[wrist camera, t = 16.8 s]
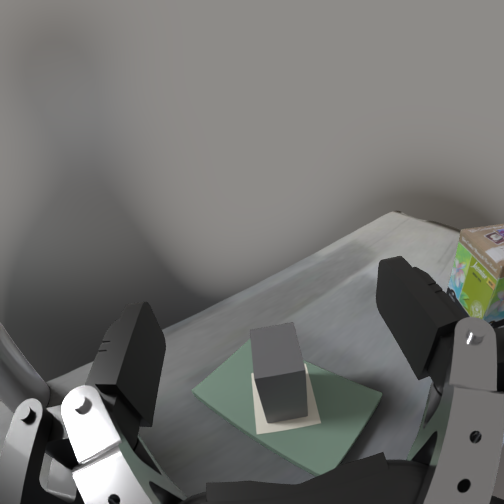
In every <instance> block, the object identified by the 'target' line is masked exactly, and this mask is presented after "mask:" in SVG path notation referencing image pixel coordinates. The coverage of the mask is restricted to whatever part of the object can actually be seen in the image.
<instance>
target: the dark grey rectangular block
mask: <svg viewBox="0 0 504 504" xmlns="http://www.w3.org/2000/svg"><path fill="white" fill-rule="evenodd" d="M250 340H251V351H252V362H253V373H254V380H255V384H256V387H257V391H258V394H259V397H260V401H261V404H262V408H263V411H264V414H265V417H266V421H267V423H274V422H280V421H286V420H291V419H297V418H302V417H307V416H308V406H307V386H306V369H305V366H304V362H303V358H302V354H301V350H300V346H299V342H298V339H297V335H296V331H295V327H294V323H293V322H291V323H285V324H280V325H275V326H269V327H263V328H257V329H252V330H250Z"/></svg>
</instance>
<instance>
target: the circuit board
mask: <svg viewBox="0 0 504 504" xmlns="http://www.w3.org/2000/svg"><path fill="white" fill-rule="evenodd" d="M303 362H304V366H305V369H306V386H307V406H308V416H307V417H302V418H297V419H291V420H286V421H280V422H274V423H267V421H266V417H265V414H264V411H263V408H262V404H261V401H260V397H259V394H258V391H257V387H256V384H255V380H254V373H253V362H252V351H251V340H250V339H249V340H248V341H247V342H246V343H245V344H244V345H243V346H242V347H241V348H239V349H238V350H237V351H236V352H235V353H234V354H233V355H232V356H231V357H229V358H228V359H227V360H226V361H225V362H224V363H223V364H222V365H220V366H219V367H218V368H217V369H216V370H215V371H214V372H212V373H211V374H210V375H209V376H208V377H207V378H205V379H204V380H203V381H202V382H201V383H200V384H198V385H197V386H196V387H195V388H194V389H193V390H191V391H192V392H193V394H194V396H195V397H196V398H197V399H199V400H200V401H201V402H202V403H204V404H205V405H206V406H208V407H209V408H210V409H211V410H213V411H214V412H215V413H217V414H218V415H219V416H221V417H222V418H223V419H225V420H226V421H228V422H229V423H230V424H232V425H233V426H235V427H236V428H237V429H239V430H240V431H242V432H243V433H245V434H246V435H248V436H249V437H251V438H252V439H254V440H255V441H257V442H258V443H260V444H261V445H263V446H264V447H266V448H268V449H269V450H271V451H272V452H274V453H276V454H277V455H279V456H281V457H282V458H284V459H286V460H287V461H289V462H291V463H293V464H294V465H296V466H298V467H300V468H301V469H303V470H305V471H307V472H309V473H311V474H313V475H314V476H316V477H317V476H319V475H322V474H324V473H326V472H328V471H330V470H332V469H334V468H336V467H338V466H339V464H340V463H341V462H342V460H343V459H344V457H345V456H346V454H347V453H348V452H349V450H350V449H351V447H352V446H353V444H354V443H355V441H356V440H357V438H358V437H359V435H360V434H361V432H362V430H363V429H364V427H365V426H366V424H367V422H368V421H369V419H370V417H371V416H372V414H373V412H374V411H375V409H376V407H377V405H378V404H379V402H380V400H381V397H382V394H383V393H381V392H378V391H376V390H373V389H370V388H368V387H365V386H363V385H360V384H358V383H355V382H353V381H350V380H348V379H346V378H343V377H341V376H338V375H336V374H334V373H331V372H329V371H327V370H324V369H322V368H320V367H317V366H315V365H313V364H311V363H308V362H306V361H304V360H303Z"/></svg>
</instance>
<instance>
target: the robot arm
mask: <svg viewBox="0 0 504 504" xmlns="http://www.w3.org/2000/svg"><path fill="white" fill-rule="evenodd" d="M376 303H377V308H378V310H379V313H380V314H381V316H382V318H383V319H384V321H385V323H386V324H387V326H388V328H389V329H390V331H391V333H392V334H393V336H394V338H395V340H396V341H397V343H398V345H399V346H400V348H401V350H402V352H403V353H404V355H405V357H406V359H407V361H408V362H409V364H410V366H411V368H412V370H413V371H414V373H415V375H416V377H417V379H418V380H420V379H423V378H425V377H428V376H430V377H431V379H432V383H431V386H430V390H429V394H428V399H427V403H426V407H425V411H424V414H423V418H422V422H421V425H420V429H419V432H418V435H417V437H416V439H415V441H414V443H413V445H412V447H411V449H410V452H409V454H408V457H407V459H406V460H386V458H385V455H384V453H383V452H382V453H379V454H376V455H373V456H370V457H366V458H363V459H360V460H357V461H353V462H350V463H346V464H342V465H340V466H338V467H336V468H334V469H332V470H330V471H328V472H326V473H324V474H322V475H319V476H317V477H315V478H313V479H310V480H308V481H306V482H303V483H301V484H296V485H290V484H276V483H265V482H256V481H240V482H222V483H206V492H202V493H200V494H197V495H194V496H192V497H189V498H187V497H186V496H185V495H184V493H183V492H182V491H181V490H180V489H179V488H178V487H177V486H176V485H175V484H174V483H173V482H172V481H171V480H170V479H169V478H168V477H167V475H166V474H165V473H164V471H163V470H162V469H161V467H160V466H159V464H158V463H157V461H156V460H155V459H154V457H153V456H152V454H151V453H150V451H149V449H148V448H147V446H146V445H145V443H144V442H143V440H142V439H141V437H140V436H139V435H138V432H139V426H140V427H152V423H153V416H154V410H155V404H156V398H157V393H158V387H159V382H160V376H161V371H162V366H163V361H164V356H165V351H166V343H165V337H164V334H163V332H162V330H161V328H160V326H159V324H158V322H157V319H156V317H155V315H154V313H153V311H152V309H151V306H150V305H149V303H148V302H140V303H133V304H127V305H126V306H125V307H124V309H123V312H122V314H121V316H120V319H119V320H115V322H114V323H113V324H112V325H111V326H110V327H109V329H108V330H107V331H106V334H105V336H104V338H103V340H102V342H103V343H102V344H101V345H100V348H99V353H97V355H96V357H95V360H94V362H93V365H92V368H91V370H90V373H89V375H88V378H87V381H86V383H85V386H80V387H77V388H75V389H73V390H72V391H71V392H70V393H69V394H68V395H67V396H66V397H65V399H64V401H63V404H62V405H58V406H54V407H50V408H46V406H47V404H48V402H49V398H50V389H49V387H48V385H47V384H46V383H45V382H44V381H43V379H42V378H41V377H40V376H39V375H38V373H37V372H36V371H35V370H34V369H33V367H32V366H31V365H30V363H29V362H28V361H27V360H26V358H25V357H24V356H23V354H22V353H21V352H20V350H19V349H18V348H17V346H16V345H15V343H14V342H13V340H12V339H11V338H10V336H9V335H8V333H7V332H6V330H5V329H4V327H3V326H2V324H1V323H0V400H1V401H2V402H3V403H4V404H5V405H6V406H7V407H8V408H9V409H10V410H11V411H12V412H13V413H14V416H13V419H12V421H11V424H10V427H9V430H8V433H7V436H6V439H5V442H4V446H3V449H2V452H1V456H0V504H504V500H502V499H500V498H497V497H495V496H492V492H493V488H494V485H495V481H496V476H497V471H498V466H499V461H500V455H501V449H502V442H503V434H504V327H501V328H492V326H491V325H490V324H489V323H487V322H486V321H485V320H483V319H480V318H477V317H466V316H465V315H464V314H463V312H462V311H461V310H460V309H459V308H458V307H457V305H456V304H455V303H454V302H453V301H452V300H451V298H450V297H449V296H448V295H447V294H446V293H445V292H444V291H442V288H441V287H440V286H439V285H438V284H436V282H435V281H434V280H433V279H432V278H431V276H430V275H429V274H428V273H426V272H424V271H422V270H421V269H419V268H417V267H413V268H412V266H411V265H410V264H409V263H408V262H407V261H406V260H405V259H404V258H403V257H402V256H397V257H393V258H388V259H383V260H381V261H380V262H379V267H378V280H377V290H376ZM44 453H46V454H48V455H49V456H50V457H52V463H51V467H50V472H49V477H48V483H47V489H46V491H45V490H44V489H43V488H42V487H41V485H40V482H39V476H40V471H41V466H42V462H43V457H44Z"/></svg>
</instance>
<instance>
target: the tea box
mask: <svg viewBox="0 0 504 504" xmlns="http://www.w3.org/2000/svg"><path fill="white" fill-rule="evenodd" d="M446 294H447V295H448V296H449V297H450V298H451V300H452V301H453V302H454V303H455V304H456V305H457V307H458V308H459V309H460V310H461V311H462V312H463V314H464V315H465V316H466V317H477V318H480V319H483V320H485V321H486V322H487V323H489V324H490V325H491V326H492V328H501V327H504V224H499V225H492V226H484V227H476V228H469V229H462V230H461V233H460V238H459V243H458V248H457V252H456V257H455V261H454V265H453V270H452V274H451V277H450V281H449V285H448V289H447V293H446Z"/></svg>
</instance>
